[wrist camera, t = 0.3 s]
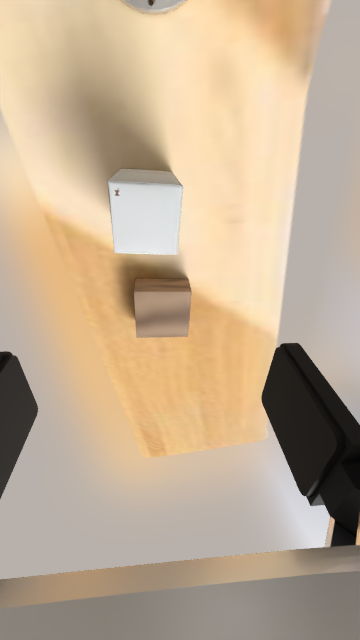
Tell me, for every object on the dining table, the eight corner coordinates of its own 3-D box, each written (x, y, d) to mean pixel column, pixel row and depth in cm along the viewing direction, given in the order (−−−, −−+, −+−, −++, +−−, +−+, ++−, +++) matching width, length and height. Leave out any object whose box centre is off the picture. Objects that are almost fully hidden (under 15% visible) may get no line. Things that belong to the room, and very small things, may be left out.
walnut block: (135, 277, 44) (133, 291, 40) (188, 278, 45) (191, 291, 41) (138, 321, 49) (136, 337, 45) (185, 320, 50) (187, 336, 46)
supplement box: (122, 224, 39) (111, 254, 28) (120, 166, 35) (105, 177, 24) (171, 226, 40) (178, 257, 29) (174, 171, 36) (183, 183, 25)
